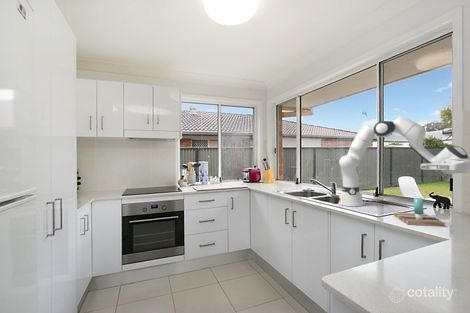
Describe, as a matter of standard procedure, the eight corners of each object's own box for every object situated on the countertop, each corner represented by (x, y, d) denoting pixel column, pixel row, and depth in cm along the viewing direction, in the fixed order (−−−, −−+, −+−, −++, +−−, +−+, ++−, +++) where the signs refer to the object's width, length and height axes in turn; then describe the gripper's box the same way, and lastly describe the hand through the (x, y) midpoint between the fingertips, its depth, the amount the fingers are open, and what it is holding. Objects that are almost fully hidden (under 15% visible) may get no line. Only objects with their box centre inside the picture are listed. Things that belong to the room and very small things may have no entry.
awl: (413, 220, 126) (412, 197, 126) (421, 221, 125) (420, 198, 125) (416, 222, 122) (415, 199, 122) (425, 223, 121) (424, 199, 121)
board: (393, 215, 138) (393, 211, 138) (424, 216, 133) (424, 213, 133) (407, 224, 119) (407, 220, 119) (444, 226, 114) (444, 222, 114)
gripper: (431, 160, 140) (412, 161, 139) (470, 160, 120) (447, 161, 118) (432, 170, 140) (413, 171, 139) (470, 172, 120) (448, 173, 118)
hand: (429, 167), depth 128 cm, fingers open, 8 cm apart
